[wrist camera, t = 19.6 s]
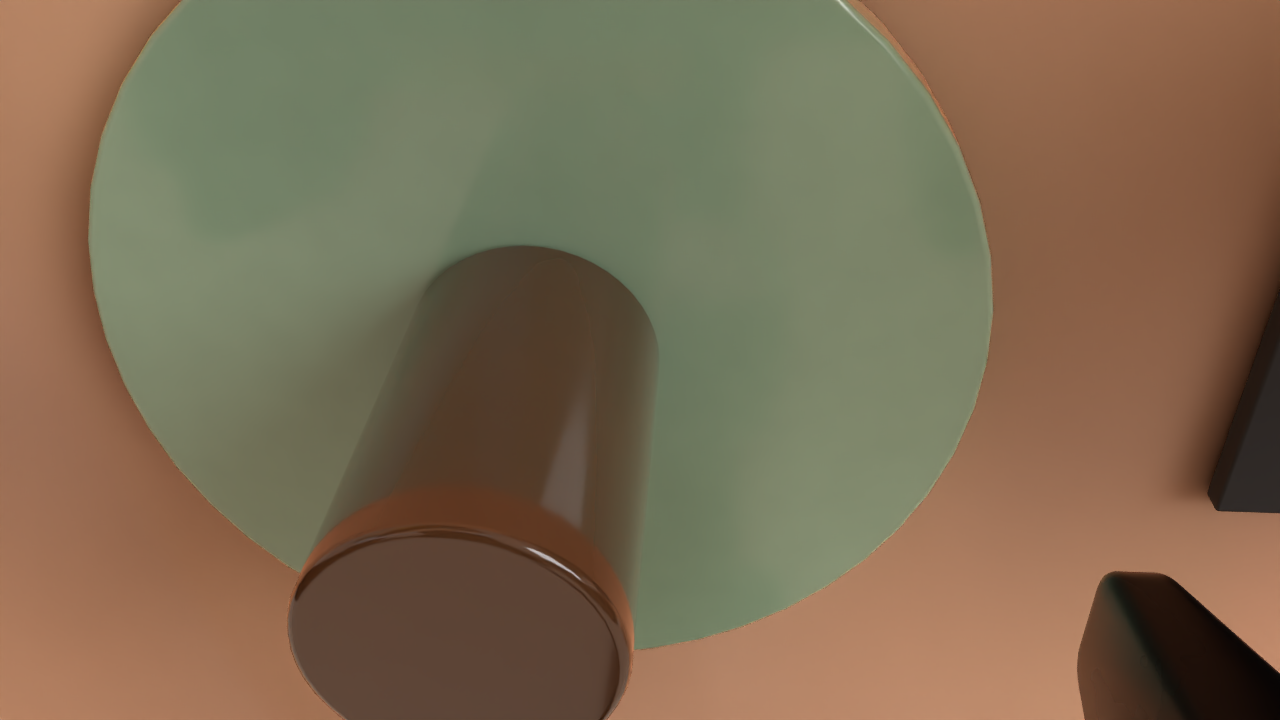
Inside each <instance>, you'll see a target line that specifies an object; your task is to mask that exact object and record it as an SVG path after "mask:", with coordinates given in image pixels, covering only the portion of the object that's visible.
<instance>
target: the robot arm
mask: <svg viewBox="0 0 1280 720" xmlns="http://www.w3.org/2000/svg"><path fill="white" fill-rule="evenodd" d="M1077 672H1078V683H1079V689H1080V695H1081V701H1082V706H1083V712H1084V718H1085V720H1280V673H1279V672H1278V671H1277V670H1275V669H1274V668H1273V667H1272V666H1271V665H1270V664H1269V663H1267V662H1266V661H1265V660H1264V659H1263V658H1262V657H1261V656H1260V655H1258V654H1257V653H1256V652H1255V651H1254V650H1253V649H1252V648H1251V647H1249V646H1248V645H1247V644H1246V643H1245V642H1244V641H1243V640H1242V639H1240V638H1239V637H1238V636H1237V635H1236V634H1235V633H1234V632H1232V631H1231V630H1230V629H1229V628H1228V627H1227V626H1226V625H1225V624H1223V623H1222V622H1221V621H1220V620H1219V619H1218V618H1217V617H1216V616H1214V615H1213V614H1212V613H1211V612H1210V611H1209V610H1208V609H1207V608H1205V607H1204V606H1203V605H1202V604H1201V603H1200V602H1199V601H1197V600H1196V599H1195V598H1194V597H1193V596H1192V595H1191V594H1190V593H1188V592H1187V591H1186V590H1185V589H1184V588H1183V587H1182V586H1181V585H1179V584H1178V583H1177V582H1176V581H1175V580H1173V579H1172V578H1170V577H1168V576H1166V575H1164V574H1160V573H1147V572H1121V571H1114V572H1111V573H1108V574H1106V575H1105V576H1104V577H1103V578H1102V580H1101V581H1100V583H1099V585H1098V588H1097V591H1096V594H1095V598H1094V601H1093V604H1092V608H1091V611H1090V614H1089V618H1088V621H1087V624H1086V628H1085V631H1084V634H1083V638H1082V641H1081V644H1080V648H1079V652H1078V663H1077Z"/></svg>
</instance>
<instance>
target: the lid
mask: <svg viewBox="0 0 1280 720" xmlns="http://www.w3.org/2000/svg"><path fill="white" fill-rule="evenodd" d="M88 245H89V254H90V264H91V273H92V283H93V291H94V295H95V299H96V303H97V307H98V311H99V315H100V319H101V322H102V326H103V330H104V334H105V338H106V341H107V343H108V346H109V348H110V351H111V353H112V356H113V358H114V361H115V363H116V366H117V368H118V371H119V373H120V375H121V378H122V380H123V383H124V385H125V387H126V389H127V391H128V392H129V394H130V396H131V398H132V400H133V401H134V403H135V405H136V407H137V408H138V410H139V412H140V414H141V416H142V417H143V419H144V421H145V423H146V424H147V426H148V428H149V430H150V431H151V432H152V434H153V435H154V436H155V438H156V439H157V441H158V442H159V443H160V445H161V446H162V447H163V449H164V450H165V452H166V453H167V454H168V456H169V457H170V458H171V460H172V461H173V462H174V464H175V465H176V467H177V468H178V469H179V470H180V471H181V472H182V474H183V475H184V476H185V477H186V478H187V479H188V480H189V481H190V482H191V483H192V485H193V486H194V487H195V488H196V489H197V490H198V491H199V492H200V493H201V494H202V495H203V497H204V498H205V499H206V500H207V501H208V502H209V503H210V504H211V505H212V506H213V507H214V508H215V509H216V510H217V511H219V512H220V513H221V514H222V515H223V516H224V517H225V518H226V519H228V520H229V521H230V522H231V523H232V524H233V525H234V526H235V527H237V528H238V529H239V530H240V531H241V532H242V533H243V534H244V535H246V536H247V537H248V538H249V539H251V540H252V541H253V542H255V543H256V544H257V545H259V546H260V547H262V548H263V549H264V550H266V551H267V552H268V553H270V554H271V555H273V556H274V557H275V558H277V559H278V560H280V561H281V562H282V563H284V564H285V565H286V566H288V567H290V568H291V569H293V570H295V571H296V572H298V573H300V575H299V577H298V580H297V582H296V584H295V587H294V589H293V591H292V594H291V596H290V600H289V605H288V610H287V630H288V637H289V643H290V649H291V652H292V655H293V657H294V660H295V663H296V665H297V667H298V669H299V671H300V672H301V674H302V676H303V678H304V680H305V681H306V682H307V684H308V685H309V686H310V688H311V689H312V690H313V692H314V693H315V694H316V695H317V696H318V697H319V698H320V699H321V700H322V701H323V702H324V703H325V704H326V705H327V706H328V707H329V708H330V709H331V710H333V711H334V712H335V713H336V714H337V715H339V716H340V717H341V718H342V719H344V720H607V719H608V718H609V717H610V715H611V714H612V712H613V711H614V710H615V708H616V707H617V706H618V704H619V703H620V701H621V699H622V697H623V695H624V693H625V691H626V689H627V687H628V684H629V680H630V677H631V673H632V664H633V653H634V650H643V649H653V648H658V647H664V646H669V645H674V644H679V643H685V642H690V641H695V640H700V639H703V638H706V637H710V636H713V635H717V634H720V633H723V632H727V631H730V630H734V629H737V628H740V627H744V626H746V625H748V624H751V623H753V622H756V621H758V620H761V619H763V618H765V617H768V616H770V615H773V614H775V613H778V612H780V611H783V610H785V609H787V608H789V607H791V606H793V605H794V604H796V603H798V602H800V601H802V600H804V599H805V598H807V597H809V596H811V595H813V594H815V593H816V592H818V591H820V590H822V589H824V588H826V587H827V586H829V585H830V584H831V583H833V582H834V581H836V580H837V579H839V578H840V577H841V576H843V575H844V574H846V573H847V572H848V571H850V570H851V569H853V568H854V567H856V566H857V565H858V564H860V563H861V562H863V561H864V560H865V559H866V558H867V557H869V556H870V555H871V554H872V553H873V552H874V551H875V550H876V549H877V548H878V547H880V546H881V545H882V544H883V543H884V542H885V541H886V540H887V539H888V538H889V537H891V536H892V535H893V534H894V533H895V532H896V531H897V530H898V529H899V528H900V527H901V526H902V525H903V523H904V522H905V521H906V520H907V519H908V518H909V516H910V515H911V514H912V513H913V512H914V510H915V509H916V508H917V507H918V506H919V505H920V503H921V502H922V501H923V500H924V499H925V498H926V496H927V495H928V494H929V493H930V491H931V489H932V488H933V486H934V485H935V483H936V481H937V480H938V478H939V477H940V475H941V474H942V472H943V470H944V469H945V467H946V466H947V464H948V463H949V461H950V459H951V458H952V456H953V455H954V453H955V451H956V448H957V446H958V444H959V442H960V439H961V437H962V435H963V433H964V430H965V428H966V426H967V424H968V422H969V419H970V417H971V415H972V413H973V410H974V408H975V405H976V401H977V398H978V394H979V390H980V387H981V383H982V380H983V376H984V372H985V369H986V365H987V361H988V356H989V347H990V338H991V329H992V321H993V312H994V301H993V278H992V255H991V251H990V246H989V241H988V236H987V231H986V226H985V221H984V217H983V212H982V207H981V202H980V199H979V196H978V193H977V191H976V188H975V185H974V183H973V180H972V177H971V175H970V172H969V169H968V167H967V164H966V161H965V159H964V156H963V153H962V151H961V148H960V146H959V143H958V141H957V138H956V136H955V134H954V131H953V129H952V126H951V124H950V123H949V121H948V119H947V117H946V115H945V114H944V112H943V110H942V108H941V106H940V105H939V103H938V101H937V99H936V98H935V96H934V94H933V92H932V90H931V89H930V87H929V85H928V83H927V81H926V80H925V78H924V76H923V74H922V73H921V71H920V70H919V69H918V67H917V66H916V65H915V64H914V62H913V61H912V60H911V58H910V57H909V56H908V55H907V53H906V52H905V51H904V49H903V48H902V47H901V46H900V44H899V43H898V42H897V40H896V39H895V38H894V37H893V35H892V34H891V33H890V31H889V30H888V29H887V27H886V26H885V25H884V24H883V23H882V22H881V21H880V20H879V19H878V18H877V17H876V16H875V15H874V14H873V13H872V12H871V11H870V10H869V9H868V8H867V7H866V6H865V5H864V4H863V3H862V2H861V1H860V0H180V2H179V3H178V4H177V5H176V6H175V7H174V8H173V10H172V11H171V12H170V13H169V14H168V15H167V16H166V18H165V19H164V20H163V21H162V22H161V23H160V24H159V26H158V27H157V28H156V29H155V30H154V31H153V33H152V34H151V35H150V37H149V39H148V40H147V42H146V43H145V45H144V47H143V48H142V50H141V52H140V53H139V55H138V57H137V58H136V60H135V62H134V63H133V65H132V66H131V68H130V70H129V71H128V73H127V75H126V76H125V78H124V80H123V81H122V83H121V86H120V88H119V91H118V93H117V96H116V98H115V101H114V103H113V106H112V109H111V111H110V114H109V116H108V119H107V121H106V124H105V126H104V129H103V131H102V134H101V139H100V144H99V148H98V153H97V158H96V163H95V167H94V172H93V177H92V181H91V188H90V208H89V229H88Z"/></svg>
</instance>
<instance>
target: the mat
mask: <svg viewBox="0 0 1280 720" xmlns="http://www.w3.org/2000/svg"><path fill="white" fill-rule="evenodd" d="M1208 496H1209V498H1210V500H1211V502H1212V504H1213V506H1214V508H1215V509H1216V510H1217V511H1231V512H1260V513H1280V289H1279V292H1278V295H1277V298H1276V301H1275V304H1274V306H1273V309H1272V312H1271V315H1270V318H1269V320H1268V323H1267V326H1266V329H1265V332H1264V334H1263V337H1262V340H1261V343H1260V346H1259V349H1258V351H1257V354H1256V357H1255V360H1254V363H1253V365H1252V368H1251V371H1250V374H1249V377H1248V380H1247V382H1246V385H1245V388H1244V391H1243V394H1242V396H1241V399H1240V402H1239V405H1238V408H1237V411H1236V413H1235V416H1234V419H1233V422H1232V425H1231V427H1230V430H1229V433H1228V436H1227V439H1226V441H1225V444H1224V447H1223V450H1222V453H1221V456H1220V458H1219V461H1218V464H1217V467H1216V470H1215V472H1214V475H1213V478H1212V481H1211V484H1210V487H1209V489H1208Z"/></svg>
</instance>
